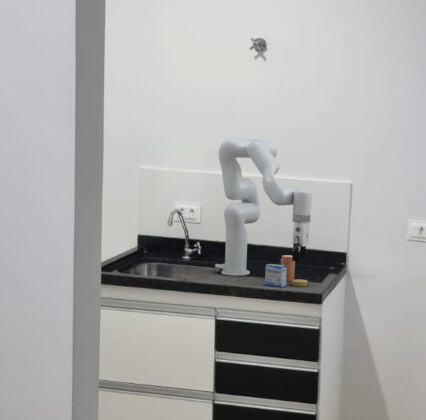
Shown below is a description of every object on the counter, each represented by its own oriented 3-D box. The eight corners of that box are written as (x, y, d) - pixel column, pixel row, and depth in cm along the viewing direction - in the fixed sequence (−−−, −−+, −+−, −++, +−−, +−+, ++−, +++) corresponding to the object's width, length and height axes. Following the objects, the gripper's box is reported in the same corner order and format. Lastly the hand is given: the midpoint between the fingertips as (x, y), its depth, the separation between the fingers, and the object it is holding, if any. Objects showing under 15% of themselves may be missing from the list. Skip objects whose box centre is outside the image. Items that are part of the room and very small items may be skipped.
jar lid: (310, 285, 362) (310, 280, 362) (301, 287, 357) (301, 282, 357) (297, 283, 366) (297, 278, 366) (288, 285, 361) (288, 280, 360)
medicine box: (264, 285, 358) (265, 264, 357) (269, 283, 362) (270, 263, 361) (281, 287, 354) (282, 266, 354) (286, 285, 358) (287, 265, 358)
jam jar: (279, 281, 369) (280, 256, 368) (280, 278, 375) (281, 254, 374) (293, 281, 369) (294, 257, 368) (295, 279, 375) (295, 255, 374)
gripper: (305, 221, 350) (302, 263, 352) (314, 217, 367) (312, 257, 369) (287, 220, 352) (284, 261, 354) (297, 216, 368) (295, 255, 370)
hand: (298, 259), depth 361 cm, fingers open, 9 cm apart
